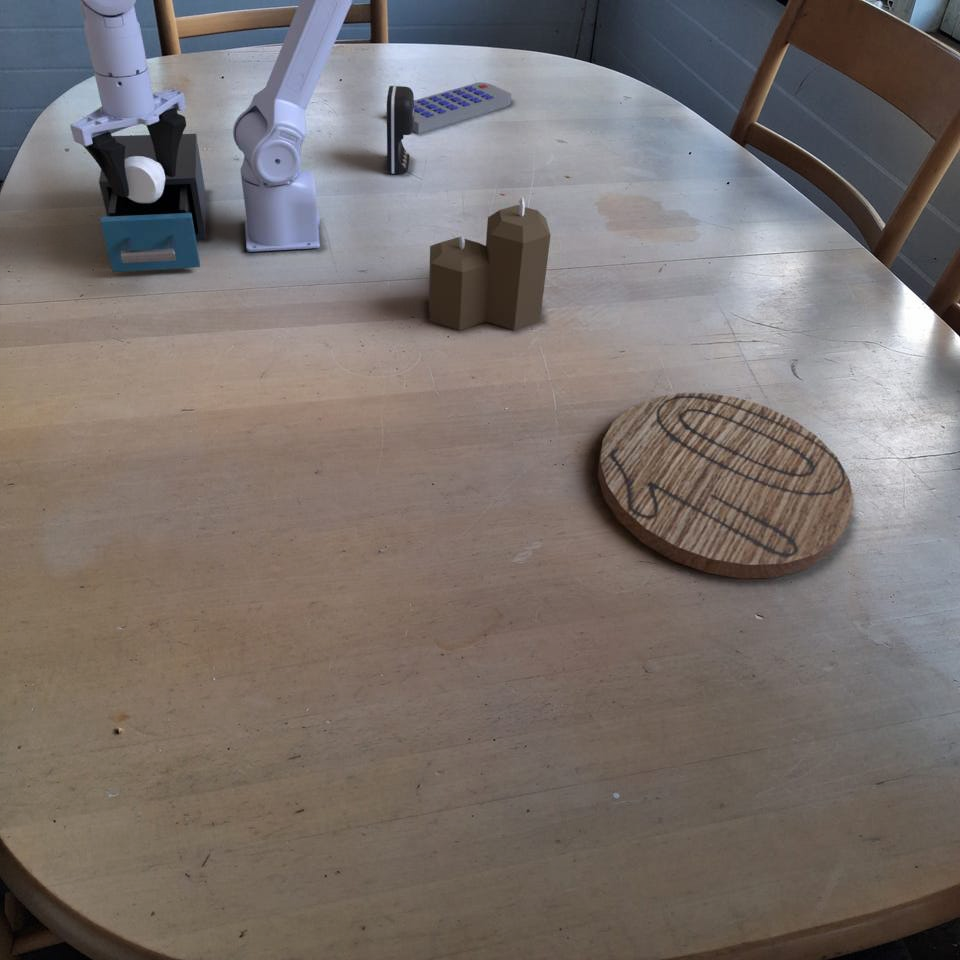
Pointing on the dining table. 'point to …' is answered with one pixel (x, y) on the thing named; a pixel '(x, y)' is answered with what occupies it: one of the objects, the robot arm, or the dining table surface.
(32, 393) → the dining table surface
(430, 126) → the remote control
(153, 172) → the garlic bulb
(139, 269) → the drawer
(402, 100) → the battery charger
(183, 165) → the cabinet
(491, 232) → the candle
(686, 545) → the trivet
